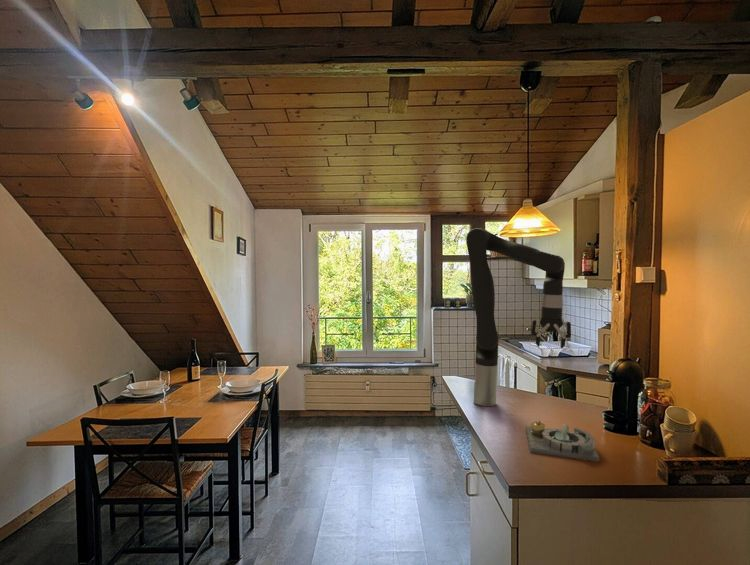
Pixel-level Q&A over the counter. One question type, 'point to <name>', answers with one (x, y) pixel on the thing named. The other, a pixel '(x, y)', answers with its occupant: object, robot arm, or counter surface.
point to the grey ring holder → (561, 443)
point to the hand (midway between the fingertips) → (550, 346)
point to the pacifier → (563, 434)
